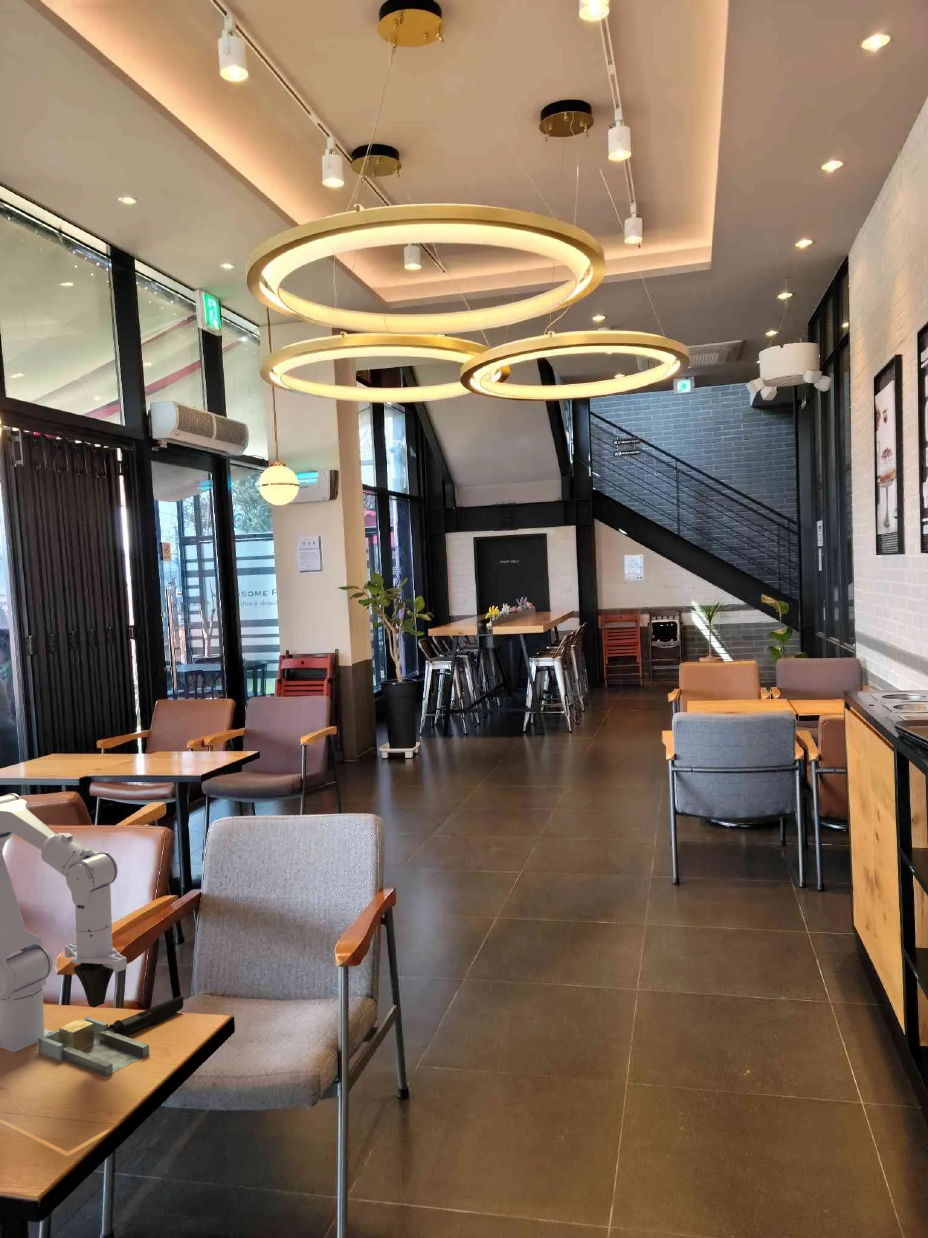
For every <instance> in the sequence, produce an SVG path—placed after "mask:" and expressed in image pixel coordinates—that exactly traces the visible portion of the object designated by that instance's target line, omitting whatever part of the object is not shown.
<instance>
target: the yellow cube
mask: <svg viewBox="0 0 928 1238" xmlns="http://www.w3.org/2000/svg"><path fill="white" fill-rule="evenodd" d="M82 1019H83V1018H78V1019H75V1020H73V1021H71V1022H68V1023H67V1024H64V1025H62V1026H59V1027H58V1029H59V1041H60V1043H61V1044H63V1049H64V1048H67V1047H71V1048H74V1049H76V1050H81V1049H83V1048H85V1047H87V1046H89V1045H91V1044H93V1043H94V1030H93V1023H91V1022H88V1021H85V1020H82Z"/></svg>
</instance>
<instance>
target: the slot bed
mask: <svg viewBox="0 0 928 1238" xmlns="http://www.w3.org/2000/svg"><path fill="white" fill-rule="evenodd" d="M99 1034H100V1041H99V1042H97V1043H95V1044H93V1045H91V1046H89V1047H86V1048H84V1049H82V1050H80V1051H79V1050H76V1049H74V1048H71V1047H67V1048H64V1049H62V1055H63V1059H62V1060H64V1061H66V1062H68V1063H71V1064H74V1065H77V1066H79V1067H82V1068H84V1069H86V1070H88V1071H92V1072H94V1073H96V1074H99V1075H102V1076H104V1077H108V1076H110V1075H113V1074H114V1073H116V1072H119V1071H120V1070H121V1069H124V1068H126V1067H128V1066H129V1065H131V1064H134V1063H136V1062H137V1061H139V1060H141V1059H143V1058H145V1057H147V1056H149V1055H150V1044H147V1043H145V1042H142V1041H139V1040H137V1039H135V1038H131V1037H128V1036H123V1035H120V1034H117V1033H114V1032H111V1031H108V1030H106V1029H105V1030H103V1031H101V1032H99Z"/></svg>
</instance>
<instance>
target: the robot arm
mask: <svg viewBox="0 0 928 1238" xmlns="http://www.w3.org/2000/svg"><path fill="white" fill-rule="evenodd" d="M13 835H15V836H17V837H18V838H20V839H22V840H24V841H26V843H29V844H30V845H32V846H34V847H35V848H36V849H38V850H40V851H41V853H40V854H41V855H40V856H41V857H40V858H41V860H42V861H43V862H44V863H46V864H48V865H49V866H50V867H51V868H53V869H54V870H56V871H57V872H58V873H59V874H60V875H62V876H64V877H65V882H66V885H67V887H68V889H69V891H70V893H71V901H72V902H73V905H74V908H75V909H74V910H75V912H74V913H75V938H76V939H75V940H76V942H73V943H70V944H66V945H65V946H64V957H65V958H67V959H71V963H73V964H75V965H76V966H75V967H74V968H73V972H74V973H75V975H76V976H77V978H78V979H79V981H80V983H81V986H82V988H83V991H84V993H85V997H86V1000H87V1003H88V1004H87V1005H88V1006H89V1007H91V1008H96V1007H99V1006H101V1005H104V1004H105V1001H106V997H107V996H106V995H107V991H108V987H109V985H110V984H109V983H110V981H111V978H112V976H113V973H119V972H121V971H124V970H126V969H127V966H128V965H127V964H128V963H127V957H126V956H124V955H122V954H121V953H120V952H119V951H118V950H117V949H115V948H114V947H113V922H112V919H113V917H112V894H111V893H112V892H111V884H113V883H114V882H115V881H116V879H117V878H118V869H119V868H118V864H117V862H116V859H115V858H114V857H113V856H112V855H111V854H110V853H109V852H107V851H99V852H97V851H96V850H94V851H93V850H92V849H91V848H88V847H87V846H85V845H84V844H82V843H81V842H80V841H78V840H76V839H75V838H74V835H73V834H71V833H70V832H59V833H56V832H54V831H53V830H52V829H51V828H49V827H48V826H47V825H46V824H45V823H43V821H41V819H39V818H38V817H37V816H36V815H35V814H33V813H32V812H31V811H30V809H29V805H28V801H27V800H25V799H23V798H22V797H21V796H20V795H18V794H17V793H14V792H13V793H12V792H11V793H7V794H5V795H1V796H0V1048H2V1049H4V1050H7V1051H9V1052H12V1053H16V1052H18V1051H20V1050H23V1049H25V1048H27V1047H29V1046H32V1045H33V1044H36V1043H39V1042H38V1038H40V1037H43V1036H45V1035H47V1034H49V1033H52V1032H53V1031H52V1030H49V1029H47V1028H45V1017H44V1015H45V1014H44V990H43V989H44V988H43V987H44V986H46V985H47V978H49V977H50V975H51V974H52V971H53V958H52V956H51V954H50V952H49V951H48V949H47V948H46V947H45V945H44V943H43V940H42V938H41V937H40V936H39V935H36V934H33V933H31V932H29V931H27V928H26V926H25V921H24V919H23V914H22V912H21V908H20V905H19V903H18V899H17V896H16V893H15V890H14V886H13V883H12V879H11V877H10V874H9V870H8V866H7V864H6V861H5V857H4V854H3V848H4V847H5V844H6V843H7V842H8V841H9V840H10V839H11V838H12V837H13ZM19 951H21V952H19ZM17 952H19V953H17ZM14 953H17V954H15V955H12V954H14ZM10 955H12V956H10Z"/></svg>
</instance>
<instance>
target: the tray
mask: <svg viewBox="0 0 928 1238" xmlns="http://www.w3.org/2000/svg"><path fill="white" fill-rule="evenodd" d="M81 1019H82V1020H85V1021H88V1022H91V1023H93V1030H94V1043H93V1044H95V1043H97V1042H99V1041H100V1034H99V1032H101V1031H103V1030H105V1029H106V1030H107V1028H108V1027H109V1023H107V1022H104V1021H101V1020H98V1019H96V1018H93V1017H90V1016H86V1017H84V1018H81ZM37 1043H38V1053H39V1054H42V1055H44V1056H47V1057H50V1058H52V1059H54V1060H57V1061H62V1060H64V1059H63V1055H62V1049H63V1044H61V1043H60V1041H59V1028H58V1029H57V1030H54V1031H52V1033H49V1034H47V1035H45V1036H43V1037H40V1038H38V1042H37ZM93 1044H91V1045H93ZM91 1045H89V1046H91ZM89 1046H87V1047H89ZM85 1048H86V1047H85ZM83 1049H84V1048H83ZM81 1050H82V1049H81ZM79 1051H80V1050H79Z"/></svg>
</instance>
